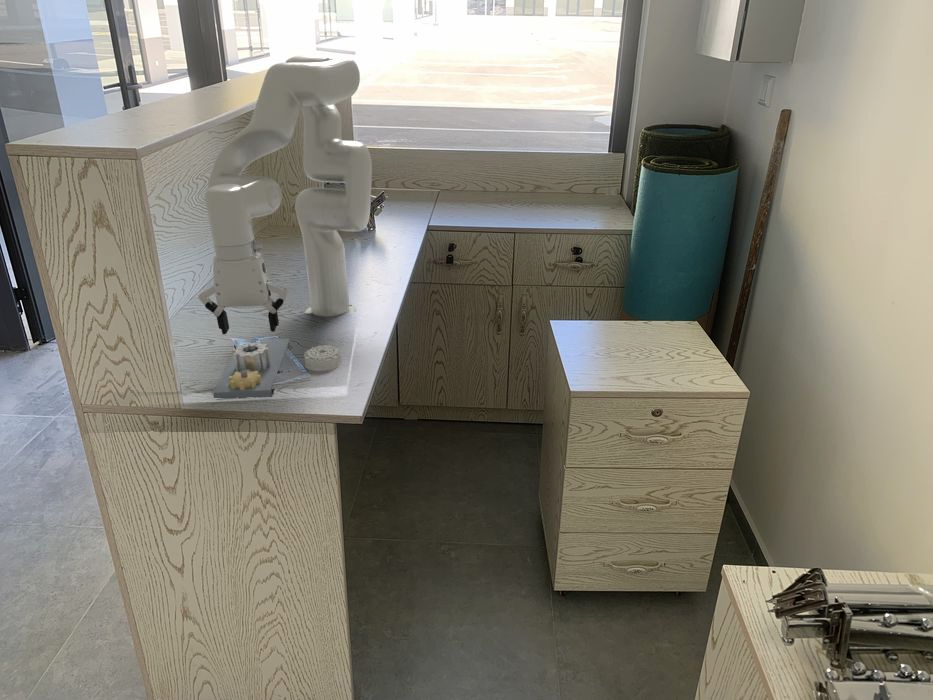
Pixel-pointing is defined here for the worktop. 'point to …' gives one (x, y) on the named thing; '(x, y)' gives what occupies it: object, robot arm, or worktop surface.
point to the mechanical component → (323, 358)
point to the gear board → (265, 375)
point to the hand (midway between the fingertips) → (249, 330)
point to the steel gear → (251, 357)
